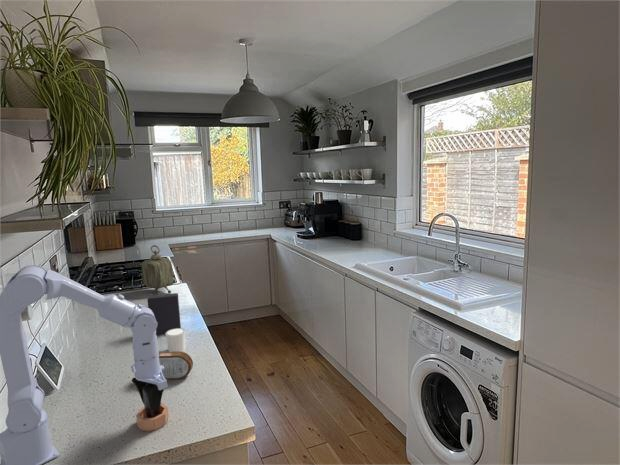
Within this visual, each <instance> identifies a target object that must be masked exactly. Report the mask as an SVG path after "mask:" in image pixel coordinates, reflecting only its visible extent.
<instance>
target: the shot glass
mask: <svg viewBox="0 0 620 465" xmlns="http://www.w3.org/2000/svg"><path fill="white" fill-rule="evenodd" d="M186 331H187V330H186V329H184V328H183V327H181V328H175V329H171V330H169V331H167V332H166V333H164V334H165V338H166V344H167V349H168V352H174V351H181V352H185V351H186V344H187V343H186V337H187V336H186V333H187V332H186Z"/></svg>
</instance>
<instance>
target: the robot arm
mask: <svg viewBox="0 0 620 465" xmlns="http://www.w3.org/2000/svg"><path fill="white" fill-rule="evenodd" d="M45 295H46V298H45V300H46V301H47V300H53V299H56V298H60V297H62V298H66V299H69V300H71V301H74V302H77V303H79V304H82V305H84V306H88V307H90V308H93V309H96V310H97V312H98V315H99V317H100V318H103V319H105V320H107V321H110V322H112V323H114V324H117V325H118V326H122V327H124V328H129V329H130V331H131V333H132V340H131V342H132V351H133V360H134V362H133V363H131V364H130V365H131V366H130V367H131V372H132V373H134V374H133V375H134V377H133V378H132V379H131V383H133V385H134V386H135V388H136V390H137V391H138V394H139V396H140V398H141V401H142V404H143V405H144V399H143V390H144V391H145V393H146V395H147V397H148V401H149V405H150V408H151V410H155V409H157V408H159V407H160V404H161V403H162V398H163V393H164V391H165V389H166V388H168V379H165V378H164V376H163V373H162V370H164V366H162V365H160V363H159V352H160V351H159V344H158V336H157V334H156V328H157V325H158V323H157V322H156V318H155V316H154V314H153V312H152V310H151V309H149V308H148V305H142V304H141V303H138V304H136V303H134V302H131V301H129V300H127V299H126V298H125V296H124V295H123V294H120V293H119V294H117V295H116V294H114V293H113V294H108V295H102V294H101V293H98V292H96V291H94V290H92V289H90V288H88V287H87V286H84V285H82V284H81V283H79V282H77V281H75V280H73V279H71V278H69V277H68V276H65V275H62V274H61V273H59V272H57V271H54V270H52V269H48V270H47V269H46V268H45V267H43V266H41V265H38V264H30V265H26V266H24V267H22V268H20V270H18V271H17V272H16V273H14V275H13V276H12V277H11V278H10V279H9V281H8V282H7V283H6V285H5V286H4V288H3V289H2V291H1V293H0V361H1V366H2V370H3V374H4V379H5V381H6V382H5V383H6V387H7V408H8V409H7V410H8V412H7V415H6V418H5V425H6V427H7V428H6V429H5V430H3V431H1V432H0V464H1V465H43V464H45V463H47V462H50V461H52V460H54V459H56V458H58V457H59V456H60V453H59V451H58V450H57V449H56V447H55V446H54V445H53V442H52V436H51V428H50V423H49V417H48V416H49V415H48V412H46V411H45V410H44V409H43V404H44V403H45V399H46V395H45V394H46V393H45V391H44V389H42V388H41V387H40V386H39V384H38V380H37V378H36V377H35V375H34V371H33V367H32V366H33V365H32V362H31V357H30V352H29V349H28V348H29V347H28V342H27V338H26V333H25V329H24V323H23V319H22V313H23V312H24V310H26V308H27V307H29V306H31V305H32V304H34V303H36V302H38V301H40V300H41V299H42V298H43V297H44V296H45ZM148 383H150V384H148ZM146 384H147V385H146ZM142 389H143V390H142Z"/></svg>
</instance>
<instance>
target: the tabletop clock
mask: <svg viewBox="0 0 620 465" xmlns="http://www.w3.org/2000/svg"><path fill="white" fill-rule="evenodd" d="M153 247H155V248H157V250H158V251H157V250H153ZM150 250H151V252H152V253H153V254H152V255H151V256H150V259H145V260H144V261H142V262H141V265H140V266H141V277H142V283H143V285H145V287H149V288H152V289H154V291H153V295H158V293H157V292H158V290H159V289H162V288H164V289H165V290H166V291H167V294H172V291H171V289H169V288H168V287H169V286H172V285H174V271H173V269H174V268H173V264H172V260H170V259H169V258H166V257H162V256H161V255H160V254H159V253H160V252H161V251H160V247H158V245H155V244H154V245H152V246H151V247H150Z"/></svg>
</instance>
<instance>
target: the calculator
mask: <svg viewBox="0 0 620 465" xmlns="http://www.w3.org/2000/svg"><path fill="white" fill-rule="evenodd" d="M147 307H148V308H149V309H151V310H152V312H153V314H154V316H155V318H156V322H157V323H158V325H157V328H156V335H160V334H161V335H162V334H165V333H166V332H167V331H169V330H171V329H175V328H182V326H181V315H180V314H181V313H180V302H179V293H177V292H175V293H164V294H153V295H148V296H147Z"/></svg>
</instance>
